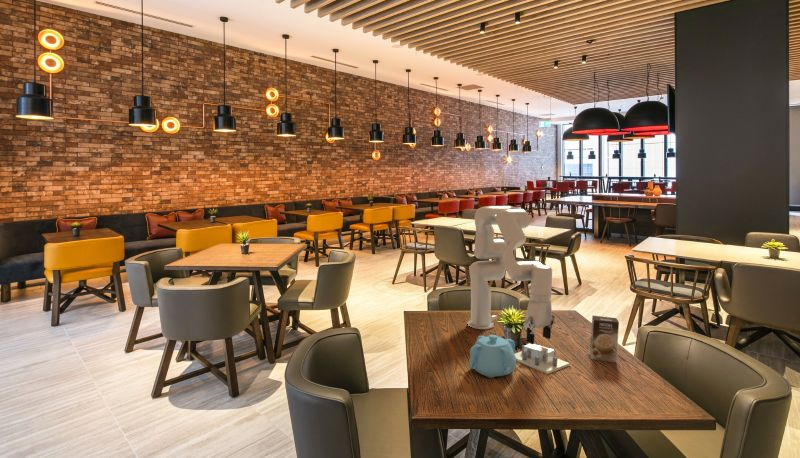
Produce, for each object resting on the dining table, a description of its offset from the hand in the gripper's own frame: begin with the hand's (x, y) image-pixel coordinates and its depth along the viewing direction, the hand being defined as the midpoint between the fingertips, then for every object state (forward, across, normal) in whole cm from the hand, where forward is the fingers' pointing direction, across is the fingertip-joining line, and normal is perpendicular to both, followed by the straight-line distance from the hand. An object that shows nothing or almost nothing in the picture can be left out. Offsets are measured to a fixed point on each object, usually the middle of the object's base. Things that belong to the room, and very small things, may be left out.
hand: (538, 340), depth 168 cm
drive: (+7, 0, 0) cm, 7 cm away
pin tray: (+8, 0, +1) cm, 8 cm away
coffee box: (+8, -24, +13) cm, 28 cm away
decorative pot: (+8, +21, -3) cm, 23 cm away
